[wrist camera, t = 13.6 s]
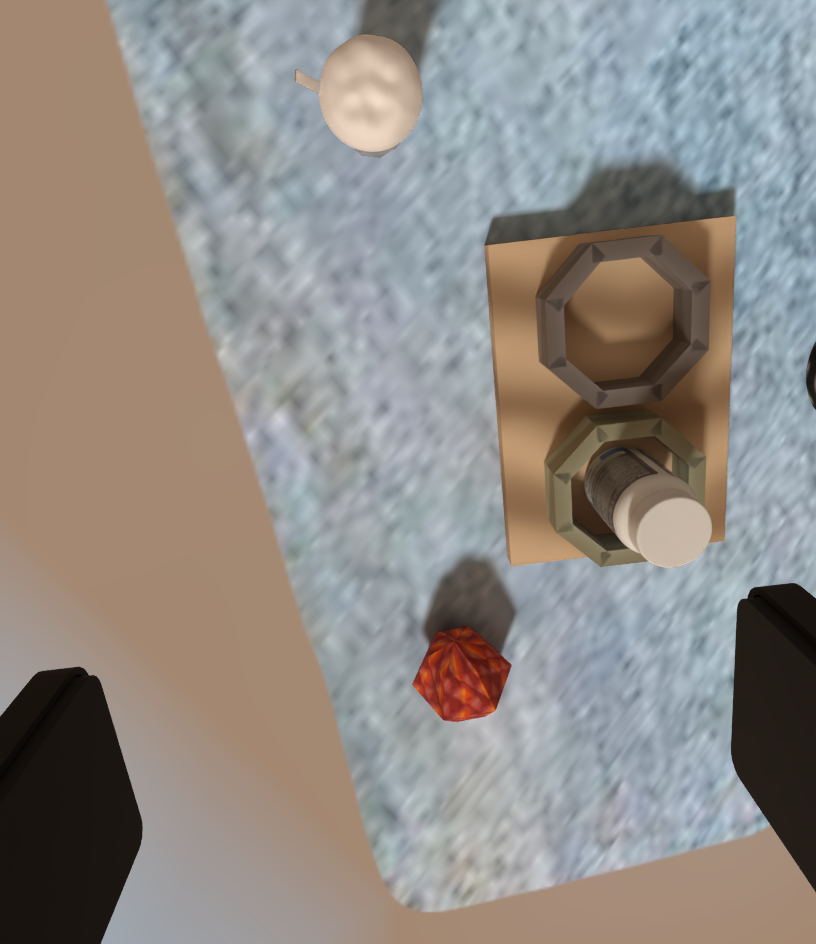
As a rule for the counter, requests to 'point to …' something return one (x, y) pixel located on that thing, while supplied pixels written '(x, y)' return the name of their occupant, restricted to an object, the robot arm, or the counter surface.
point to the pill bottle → (648, 506)
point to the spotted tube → (812, 377)
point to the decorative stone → (462, 675)
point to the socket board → (608, 373)
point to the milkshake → (368, 93)
